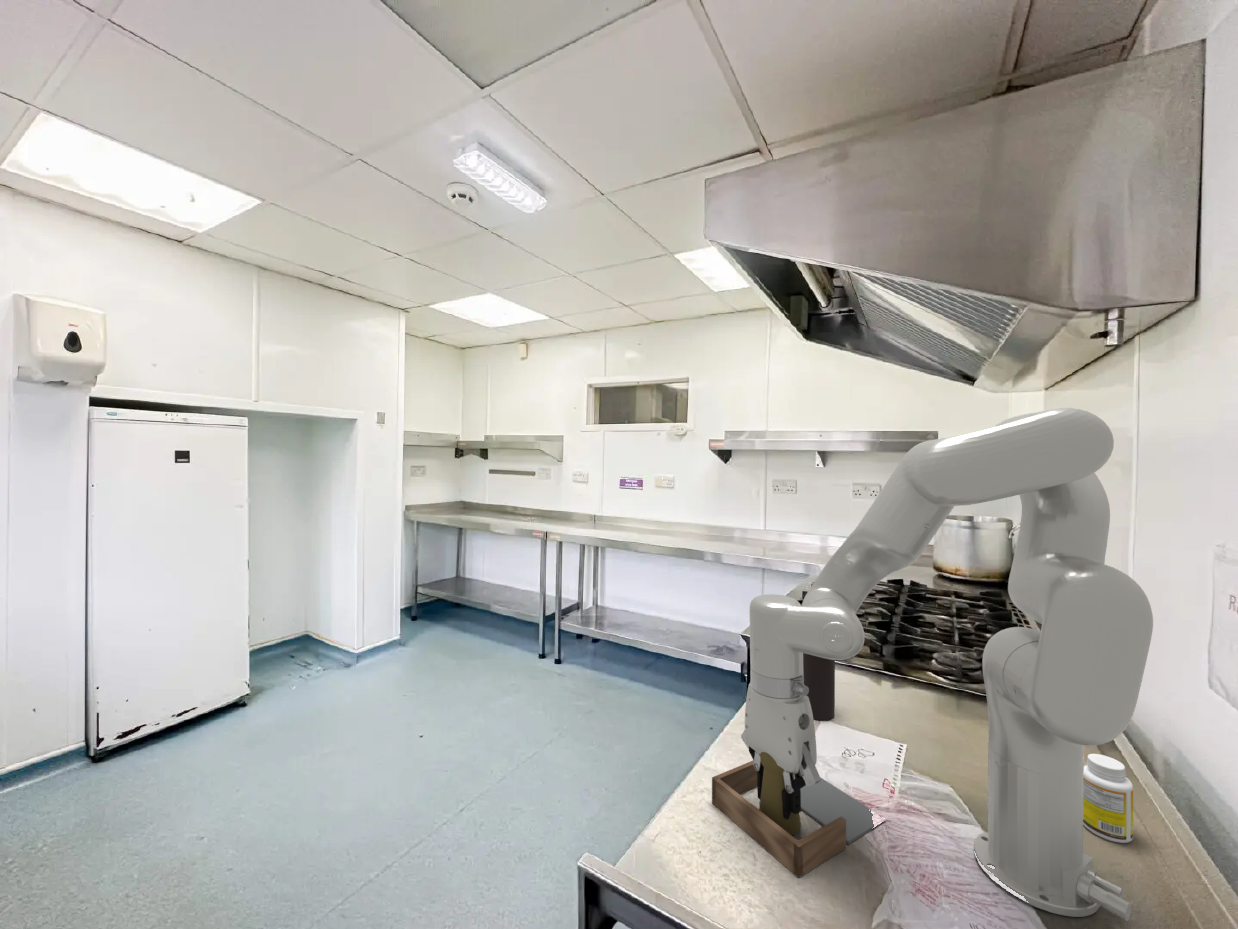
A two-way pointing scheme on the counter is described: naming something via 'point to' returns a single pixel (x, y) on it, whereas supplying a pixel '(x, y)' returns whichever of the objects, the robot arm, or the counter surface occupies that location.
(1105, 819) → the supplement bottle
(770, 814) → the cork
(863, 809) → the charcoal mat
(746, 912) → the counter surface
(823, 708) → the vinegar
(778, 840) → the wooden u-shaped frame
